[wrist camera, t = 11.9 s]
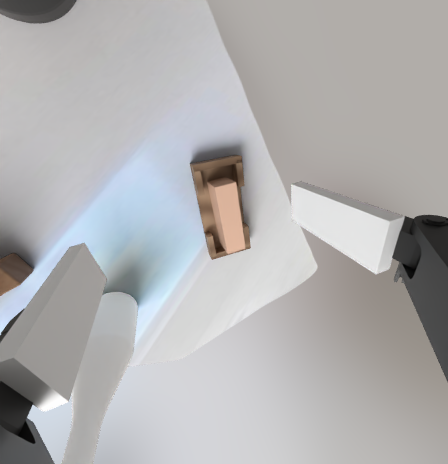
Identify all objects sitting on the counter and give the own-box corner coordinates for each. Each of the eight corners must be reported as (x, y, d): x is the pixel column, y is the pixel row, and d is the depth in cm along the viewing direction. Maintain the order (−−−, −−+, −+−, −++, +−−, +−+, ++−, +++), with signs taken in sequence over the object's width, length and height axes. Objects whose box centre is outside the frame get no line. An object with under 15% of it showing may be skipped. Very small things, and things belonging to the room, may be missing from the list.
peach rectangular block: (207, 181, 40) (214, 187, 35) (225, 177, 41) (236, 182, 36) (219, 241, 46) (227, 254, 41) (235, 236, 47) (245, 248, 42)
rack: (189, 163, 38) (192, 165, 36) (235, 154, 40) (241, 155, 38) (208, 253, 47) (211, 259, 45) (245, 242, 49) (250, 248, 47)
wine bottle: (99, 285, 42) (10, 514, 16) (144, 294, 47) (130, 489, 21) (85, 319, 45) (-15, 570, 18) (129, 325, 49) (99, 537, 23)
